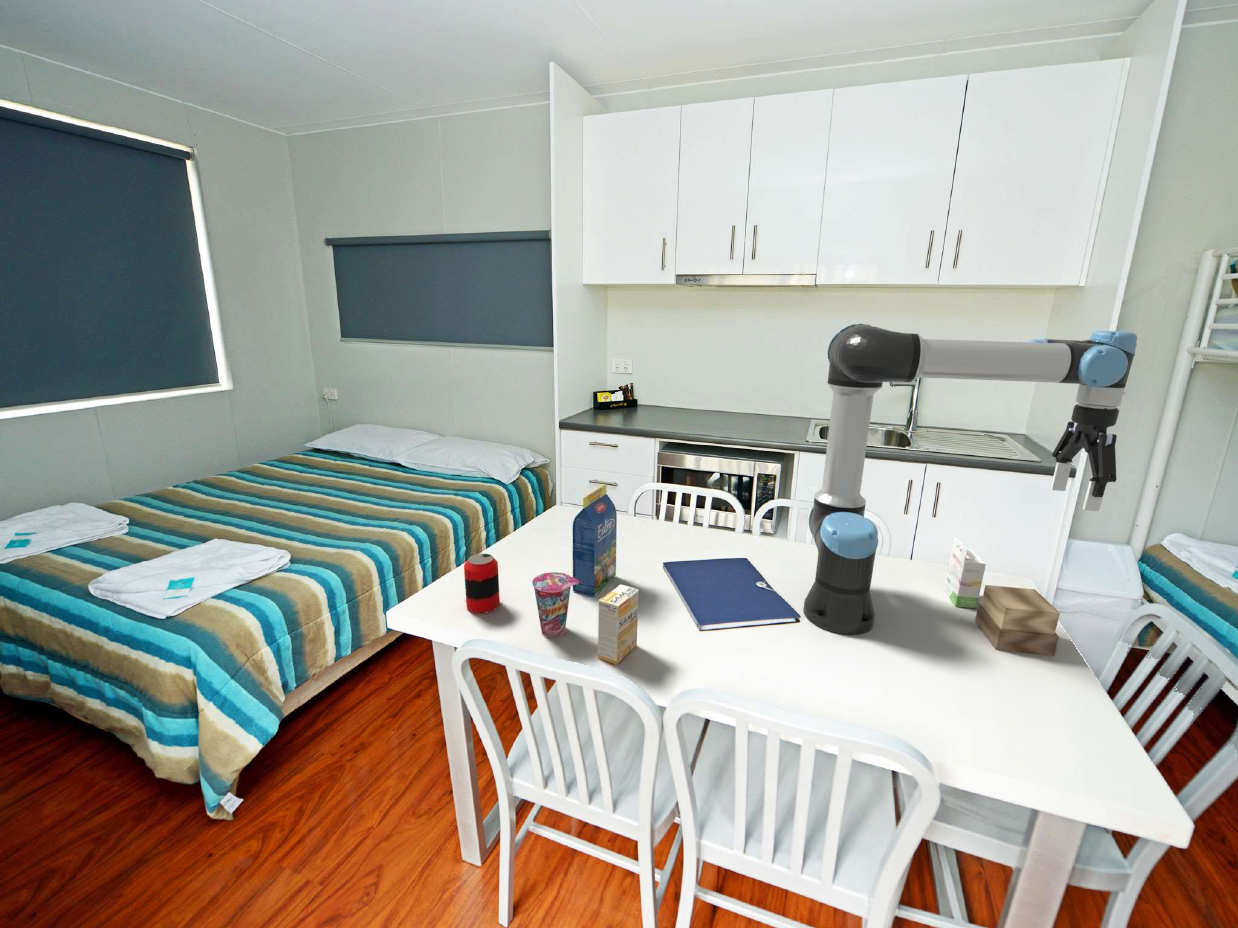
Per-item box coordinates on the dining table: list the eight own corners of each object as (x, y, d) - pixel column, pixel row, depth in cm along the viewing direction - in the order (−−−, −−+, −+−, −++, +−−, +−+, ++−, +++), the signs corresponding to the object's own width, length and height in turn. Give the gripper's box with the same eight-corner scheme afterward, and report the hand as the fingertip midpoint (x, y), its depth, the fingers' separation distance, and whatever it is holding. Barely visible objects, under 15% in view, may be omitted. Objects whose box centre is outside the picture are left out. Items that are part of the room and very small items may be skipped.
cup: (541, 646, 119) (540, 594, 115) (528, 625, 126) (526, 576, 123) (582, 635, 123) (582, 584, 120) (567, 616, 130) (567, 568, 127)
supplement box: (617, 666, 113) (618, 606, 109) (597, 657, 115) (597, 599, 112) (638, 645, 120) (640, 589, 116) (618, 638, 122) (619, 582, 118)
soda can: (506, 601, 136) (504, 555, 132) (486, 617, 129) (483, 568, 126) (480, 594, 139) (477, 549, 135) (459, 609, 132) (456, 562, 129)
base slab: (995, 651, 120) (999, 630, 119) (974, 623, 131) (978, 603, 129) (1053, 657, 118) (1059, 636, 117) (1027, 628, 129) (1032, 608, 127)
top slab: (1001, 629, 119) (1005, 607, 118) (981, 604, 129) (985, 584, 127) (1054, 634, 118) (1060, 612, 116) (1030, 609, 127) (1035, 589, 126)
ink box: (977, 609, 136) (990, 552, 132) (955, 606, 137) (966, 550, 133) (964, 591, 144) (975, 537, 140) (943, 589, 145) (953, 535, 141)
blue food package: (572, 591, 141) (571, 495, 134) (594, 571, 151) (595, 481, 144) (594, 597, 138) (595, 500, 131) (616, 576, 149) (617, 485, 142)
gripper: (1157, 418, 109) (1127, 521, 115) (1084, 397, 133) (1063, 484, 139) (1112, 415, 111) (1085, 518, 117) (1048, 395, 134) (1028, 481, 140)
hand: (1073, 499), depth 128 cm, fingers open, 13 cm apart
